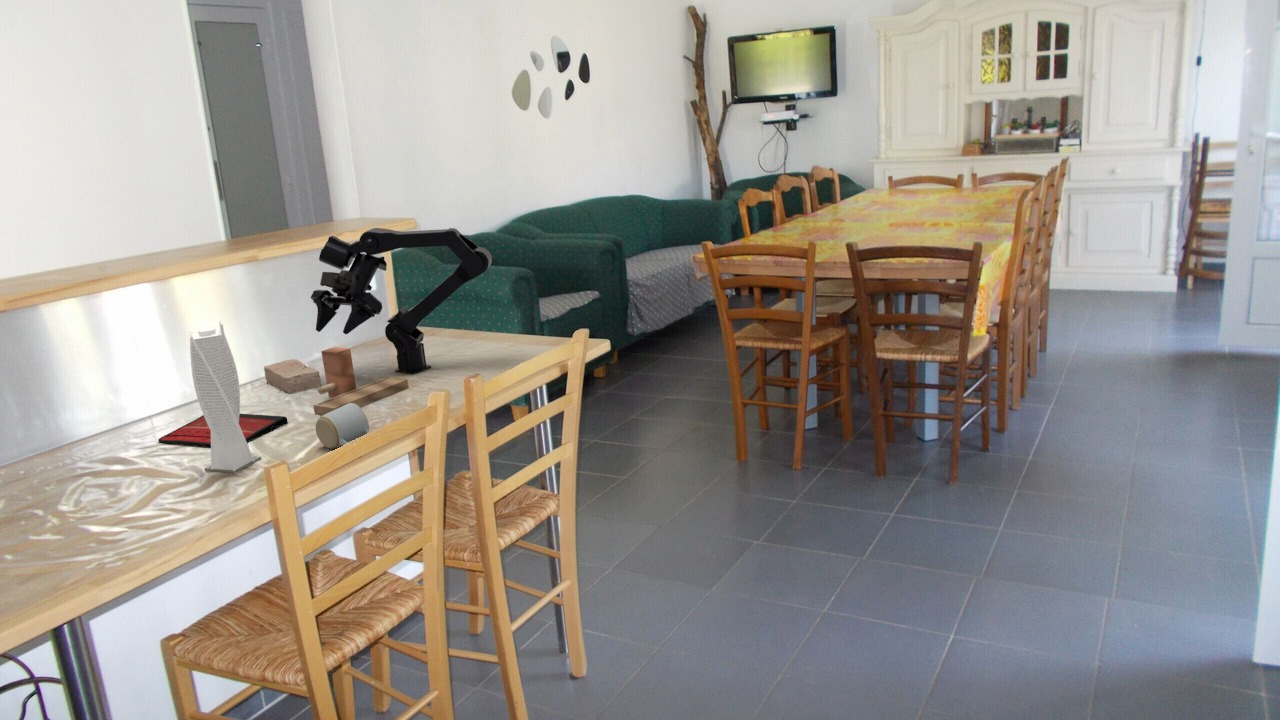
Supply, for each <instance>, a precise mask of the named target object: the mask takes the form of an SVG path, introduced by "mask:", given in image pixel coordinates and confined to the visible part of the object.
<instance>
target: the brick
mask: <svg viewBox="0 0 1280 720" xmlns="http://www.w3.org/2000/svg"><path fill="white" fill-rule="evenodd" d="M263 370H264V376H265V380H266V383H268V384H269V385H270V386H273V387H275V388H277V389H279V390H282V391H283V392H286V393H288V394H290V395H292V394H295V393H300V392H304V391H308V390H309V391H310V390H314V389H316V388H317V389H318V388H319V387H322V383H321V382H322V380H321V376H320V371H319V370H317V369H316V368H314V367H311V366H307V365H306V364H305V363H303V362H302V361H300V360H298V359H296V358H295V359H293V358H291V359H286V360H282V361H279V362H275V363H271V364H269V365H264V367H263Z"/></svg>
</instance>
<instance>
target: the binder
mask: <svg viewBox="0 0 1280 720" xmlns="http://www.w3.org/2000/svg"><path fill="white" fill-rule="evenodd" d="M288 423H289V421H288V418H287V417H286V416H282V415H266V414H251V413H250V414H249V413H240V414H239V425H240V428H241V430H242V432H243V435H244V437H245V439H246V442H247V443H248V442H251V441H253V440H255V439H258V438H260V437H263V436H265V435H266V434H269V433H271V432H273V431H275V430H277V429H278V428H276V427H275V428H273V427H274V426H276V425H282V424H283V425H287V424H288ZM158 443H159V444H160V443H164V444H163V445H180V444H183V445H184V446H196V445H197V446H199V447H207V448H208V447H209V448H211V430H210V428H209V426H208V424H207V422H206V420H205V417H204V415H203V414H202V415H201V416H200V417H197V418H196V419H194V420H191V421H190V422H188V423H186V424H183V426H181V427H178V428H176V429H175V430H173V431H171V432H169V433H167V434H165V435H163V436H161V437H160V438H158ZM165 443H166V444H165Z"/></svg>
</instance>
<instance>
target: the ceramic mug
mask: <svg viewBox="0 0 1280 720" xmlns="http://www.w3.org/2000/svg"><path fill="white" fill-rule="evenodd" d="M369 431H370V425H369V421H368V417H367V414H366V413H365V412H364V410H363V409H362V408H361V407H359V406H358V405H356V404H354V403H349V404H346V405H344V406H342V407H340V408H338V409H336V410H333V411H331V412H329V413H327V414H325V415H321V416H320V417H319V418H318V419H317V421H316V423H315V432H316V436H317V438H318V440H319V441H320V443H321V444H322V445H323V447H326V448H328V449H331V450H333V449H338V447H339V448H341V447H340V446H342V445H344V444H346V443H348V442H350V441H352V440H355V439H356V438H359V437H361V436H363V435H365V434H367V433H369V434H370V432H369ZM342 447H343V446H342Z"/></svg>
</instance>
